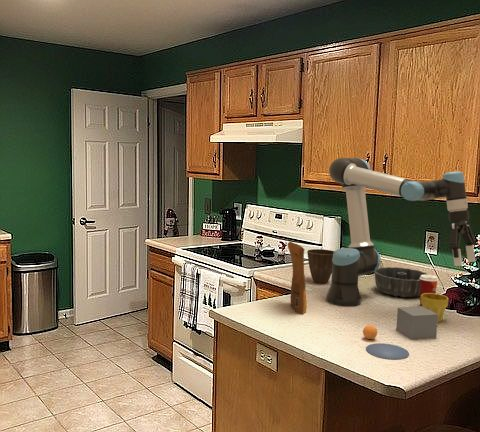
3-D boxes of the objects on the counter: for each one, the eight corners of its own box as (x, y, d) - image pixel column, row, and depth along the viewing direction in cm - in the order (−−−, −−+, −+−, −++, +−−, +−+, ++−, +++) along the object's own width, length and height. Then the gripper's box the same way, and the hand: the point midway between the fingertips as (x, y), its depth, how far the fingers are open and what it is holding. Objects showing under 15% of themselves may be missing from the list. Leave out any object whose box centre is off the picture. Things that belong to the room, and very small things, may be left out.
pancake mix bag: (293, 315, 211) (296, 247, 207) (284, 302, 230) (287, 239, 226) (309, 315, 211) (312, 247, 208) (299, 302, 230) (302, 239, 227)
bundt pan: (441, 296, 249) (442, 275, 248) (406, 303, 234) (407, 282, 233) (395, 283, 270) (397, 265, 269) (361, 290, 255) (362, 270, 254)
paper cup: (437, 310, 224) (439, 278, 222) (418, 309, 225) (421, 277, 224) (434, 305, 232) (436, 274, 230) (416, 304, 233) (418, 273, 231)
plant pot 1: (308, 277, 277) (309, 248, 275) (336, 280, 273) (338, 250, 271) (303, 284, 263) (305, 253, 261) (333, 287, 259) (335, 255, 257)
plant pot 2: (443, 325, 204) (445, 301, 203) (416, 320, 209) (418, 296, 208) (448, 319, 213) (450, 295, 212) (422, 314, 218) (424, 291, 217)
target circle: (358, 345, 180) (358, 344, 180) (394, 342, 183) (394, 342, 183) (379, 361, 166) (379, 360, 166) (417, 358, 170) (417, 357, 170)
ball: (360, 337, 188) (360, 323, 188) (372, 336, 189) (373, 322, 189) (366, 341, 183) (367, 328, 183) (379, 341, 185) (380, 327, 184)
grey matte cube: (396, 330, 197) (397, 307, 196) (419, 328, 200) (421, 306, 199) (411, 339, 187) (413, 315, 186) (436, 337, 190) (438, 314, 189)
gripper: (455, 210, 196) (462, 267, 195) (479, 208, 213) (486, 259, 213) (435, 213, 201) (442, 268, 200) (460, 210, 219) (467, 260, 218)
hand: (465, 263), depth 206 cm, fingers open, 13 cm apart
